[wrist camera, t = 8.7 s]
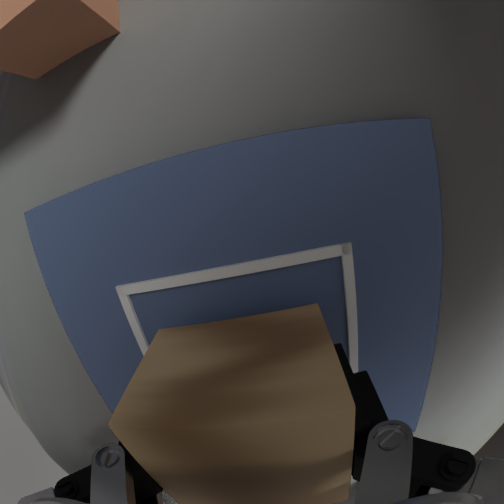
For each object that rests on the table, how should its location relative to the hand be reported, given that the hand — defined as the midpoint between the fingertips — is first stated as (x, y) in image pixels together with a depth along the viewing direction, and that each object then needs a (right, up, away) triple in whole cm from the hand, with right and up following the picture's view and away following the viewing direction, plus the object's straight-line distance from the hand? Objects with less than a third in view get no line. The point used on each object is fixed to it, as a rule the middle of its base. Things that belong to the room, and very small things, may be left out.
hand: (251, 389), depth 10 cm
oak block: (0, 0, +1) cm, 1 cm away
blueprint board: (0, +1, +2) cm, 2 cm away
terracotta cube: (-9, +17, -2) cm, 19 cm away
